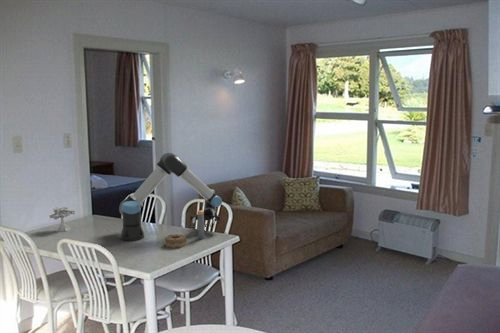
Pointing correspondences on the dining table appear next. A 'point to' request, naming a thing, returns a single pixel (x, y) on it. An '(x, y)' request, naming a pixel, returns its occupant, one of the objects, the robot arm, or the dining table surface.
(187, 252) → the dining table surface
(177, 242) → the brown ring
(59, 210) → the grey branching stemmed part
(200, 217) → the grey upright bar
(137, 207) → the robot arm
